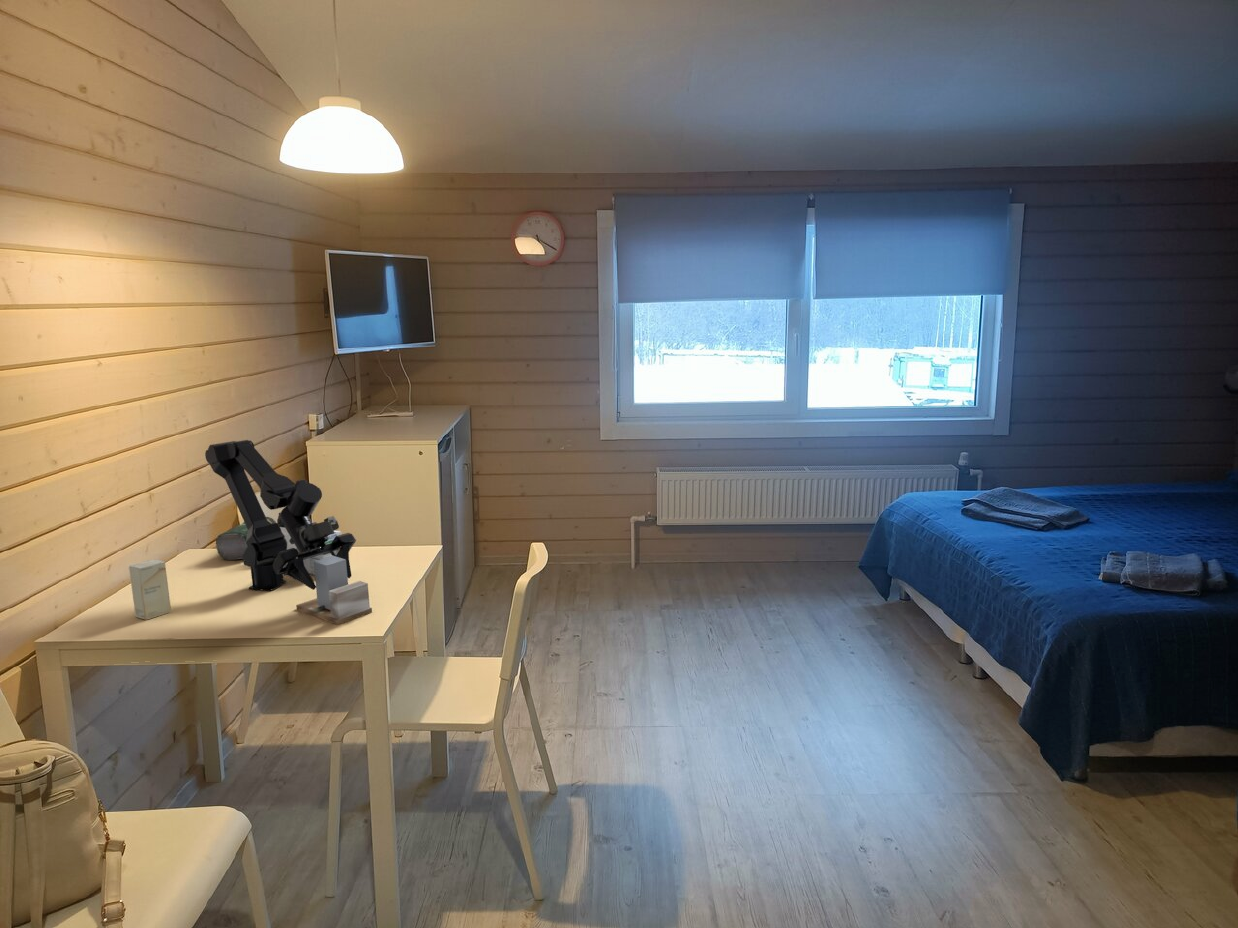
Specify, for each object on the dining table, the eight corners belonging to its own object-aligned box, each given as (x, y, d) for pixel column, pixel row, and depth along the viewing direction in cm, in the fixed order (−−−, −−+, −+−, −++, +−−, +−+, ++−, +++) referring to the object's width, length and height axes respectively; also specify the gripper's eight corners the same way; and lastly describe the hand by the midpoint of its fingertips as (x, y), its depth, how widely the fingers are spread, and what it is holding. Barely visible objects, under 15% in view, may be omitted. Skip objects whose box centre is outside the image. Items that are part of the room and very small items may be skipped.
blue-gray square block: (312, 607, 195) (307, 562, 193) (336, 598, 200) (332, 555, 198) (329, 613, 191) (324, 568, 189) (353, 604, 196) (349, 560, 194)
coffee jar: (251, 559, 234) (283, 539, 252) (245, 531, 232) (278, 513, 250) (217, 562, 235) (252, 542, 253) (211, 534, 233) (246, 516, 251)
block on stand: (296, 609, 198) (293, 580, 197) (330, 597, 205) (328, 569, 204) (337, 624, 189) (334, 594, 187) (372, 612, 196) (369, 582, 194)
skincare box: (145, 620, 193) (138, 569, 191) (134, 617, 196) (127, 565, 193) (172, 611, 199) (165, 561, 196) (161, 608, 201) (154, 558, 198)
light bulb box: (345, 570, 225) (342, 530, 223) (324, 578, 219) (320, 537, 217) (318, 563, 231) (314, 525, 228) (297, 571, 225) (293, 531, 223)
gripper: (274, 516, 188) (307, 574, 183) (347, 499, 202) (380, 552, 198) (258, 545, 194) (290, 602, 190) (331, 526, 209) (362, 578, 204)
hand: (332, 582), depth 195 cm, fingers open, 9 cm apart
